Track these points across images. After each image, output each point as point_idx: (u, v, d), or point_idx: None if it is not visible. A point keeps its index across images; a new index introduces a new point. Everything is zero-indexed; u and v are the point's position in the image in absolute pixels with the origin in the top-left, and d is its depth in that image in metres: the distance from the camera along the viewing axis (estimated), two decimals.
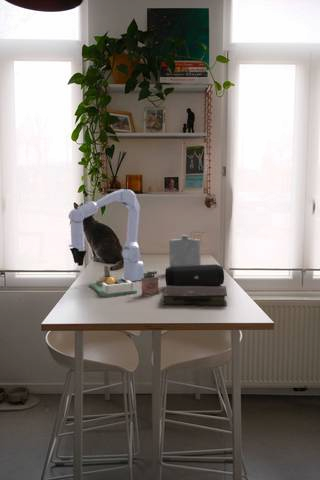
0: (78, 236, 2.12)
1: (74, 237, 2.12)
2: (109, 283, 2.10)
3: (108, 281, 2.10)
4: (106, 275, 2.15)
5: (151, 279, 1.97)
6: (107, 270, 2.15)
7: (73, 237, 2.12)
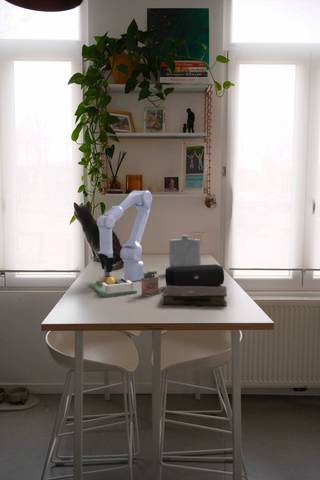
0: (107, 242, 2.12)
1: (103, 243, 2.12)
2: (109, 283, 2.10)
3: (108, 281, 2.10)
4: (106, 275, 2.15)
5: (151, 279, 1.97)
6: None
7: (102, 243, 2.12)
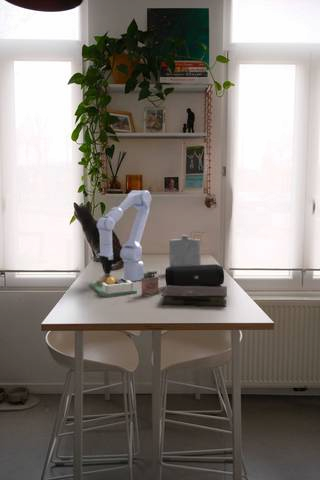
0: (107, 245, 2.12)
1: (103, 246, 2.12)
2: (109, 283, 2.10)
3: (108, 281, 2.10)
4: (106, 275, 2.15)
5: (151, 279, 1.97)
6: None
7: (102, 246, 2.12)
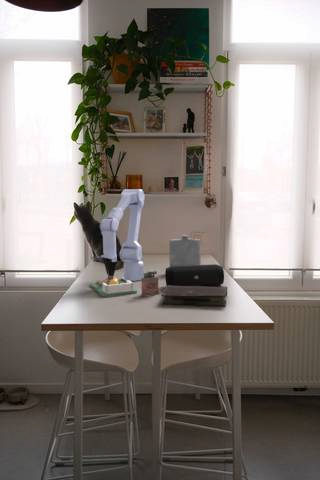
0: (111, 246, 2.07)
1: (107, 247, 2.07)
2: None
3: None
4: (110, 277, 2.10)
5: (151, 279, 1.97)
6: None
7: (106, 247, 2.07)
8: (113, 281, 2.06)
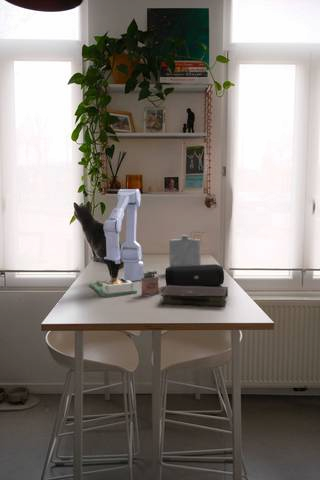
0: (114, 248, 2.02)
1: (110, 249, 2.02)
2: (114, 283, 2.01)
3: (113, 283, 2.02)
4: (113, 280, 2.05)
5: (151, 279, 1.97)
6: None
7: (109, 249, 2.02)
8: None
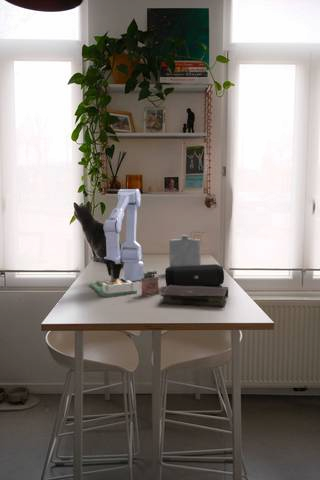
0: (114, 248, 2.02)
1: (110, 249, 2.02)
2: None
3: (114, 283, 2.01)
4: (113, 280, 2.05)
5: (151, 279, 1.97)
6: None
7: (109, 249, 2.02)
8: None
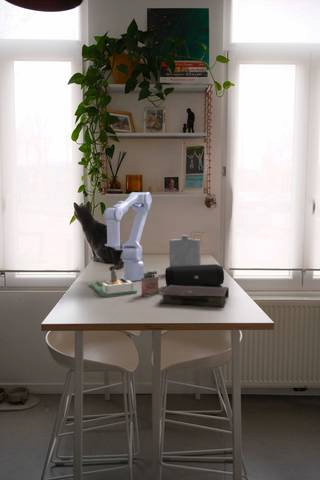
0: (115, 235, 2.10)
1: (110, 236, 2.10)
2: None
3: (114, 283, 2.01)
4: (113, 280, 2.05)
5: (151, 279, 1.97)
6: (114, 274, 2.05)
7: (109, 236, 2.10)
8: None
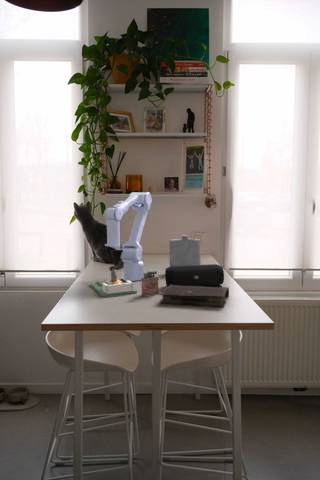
0: (115, 235, 2.10)
1: (110, 236, 2.10)
2: None
3: (114, 283, 2.01)
4: (113, 280, 2.05)
5: (151, 279, 1.97)
6: (114, 274, 2.05)
7: (109, 236, 2.10)
8: None
